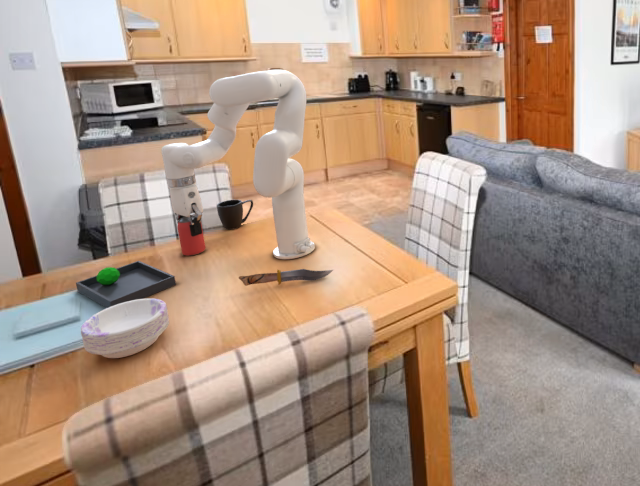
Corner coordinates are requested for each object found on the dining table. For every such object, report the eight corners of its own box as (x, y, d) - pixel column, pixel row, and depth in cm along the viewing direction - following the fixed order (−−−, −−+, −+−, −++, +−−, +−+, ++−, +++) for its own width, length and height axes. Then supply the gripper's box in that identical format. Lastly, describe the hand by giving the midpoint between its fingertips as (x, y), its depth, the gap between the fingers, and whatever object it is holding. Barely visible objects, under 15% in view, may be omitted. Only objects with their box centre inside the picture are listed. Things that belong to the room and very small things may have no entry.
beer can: (189, 248, 158) (183, 215, 155) (210, 247, 158) (204, 214, 156) (177, 257, 151) (171, 222, 149) (198, 256, 152) (192, 221, 149)
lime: (107, 288, 130) (104, 273, 129) (93, 287, 131) (90, 272, 130) (125, 280, 135) (122, 265, 134) (112, 278, 136) (108, 263, 135)
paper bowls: (187, 332, 111) (181, 302, 110) (116, 374, 97) (109, 341, 96) (143, 320, 116) (137, 292, 115) (71, 359, 102) (63, 327, 101)
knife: (334, 276, 137) (333, 260, 136) (334, 278, 136) (332, 262, 135) (241, 290, 130) (239, 274, 129) (240, 293, 129) (237, 276, 128)
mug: (258, 223, 179) (255, 200, 176) (223, 232, 171) (219, 208, 169) (252, 218, 184) (249, 195, 182) (218, 226, 176) (214, 203, 174)
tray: (176, 284, 134) (174, 276, 133) (112, 311, 121) (110, 301, 120) (140, 268, 144) (138, 260, 143) (77, 291, 131) (75, 282, 130)
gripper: (208, 181, 149) (217, 233, 152) (180, 175, 157) (188, 224, 161) (183, 188, 142) (192, 242, 146) (154, 181, 150) (164, 232, 154)
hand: (190, 232), depth 153 cm, fingers closed on beer can, 6 cm apart
